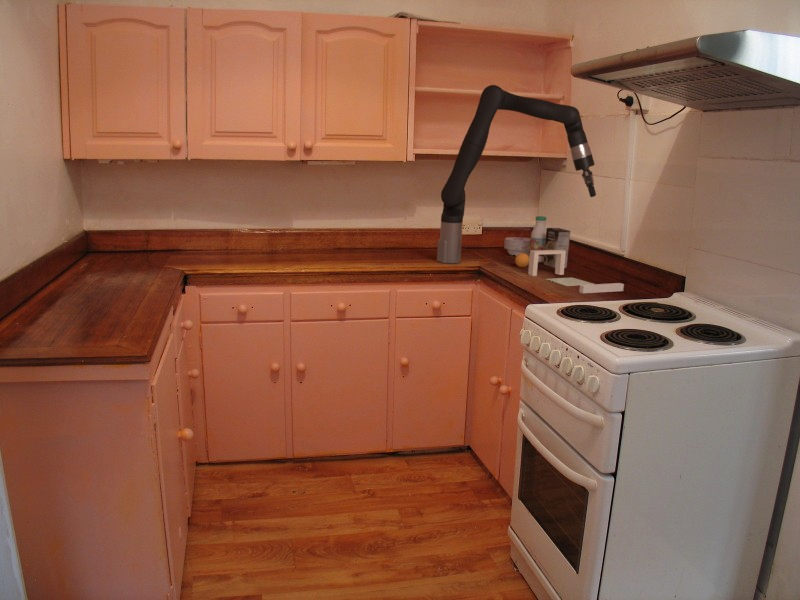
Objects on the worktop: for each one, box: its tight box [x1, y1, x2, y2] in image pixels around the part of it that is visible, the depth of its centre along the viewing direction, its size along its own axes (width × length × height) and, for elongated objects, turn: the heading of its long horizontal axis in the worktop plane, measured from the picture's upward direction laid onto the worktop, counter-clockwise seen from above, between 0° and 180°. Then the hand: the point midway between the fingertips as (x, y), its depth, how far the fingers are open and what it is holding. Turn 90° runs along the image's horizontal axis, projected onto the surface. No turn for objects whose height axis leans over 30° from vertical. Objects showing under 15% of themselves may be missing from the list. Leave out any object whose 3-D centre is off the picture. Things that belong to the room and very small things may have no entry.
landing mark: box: [545, 277, 595, 287], centre depth 256 cm, size 13×13×1 cm
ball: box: [514, 253, 529, 268], centre depth 283 cm, size 6×6×6 cm
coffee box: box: [543, 227, 571, 269], centre depth 289 cm, size 9×6×16 cm
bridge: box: [527, 250, 566, 277], centre depth 268 cm, size 3×15×10 cm, turn 114°
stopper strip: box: [578, 282, 625, 294], centre depth 239 cm, size 18×2×2 cm, turn 114°
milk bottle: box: [529, 215, 547, 263], centre depth 300 cm, size 8×8×20 cm
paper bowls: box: [503, 236, 531, 257], centre depth 318 cm, size 15×15×8 cm
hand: (593, 196), depth 268 cm, fingers open, 8 cm apart
